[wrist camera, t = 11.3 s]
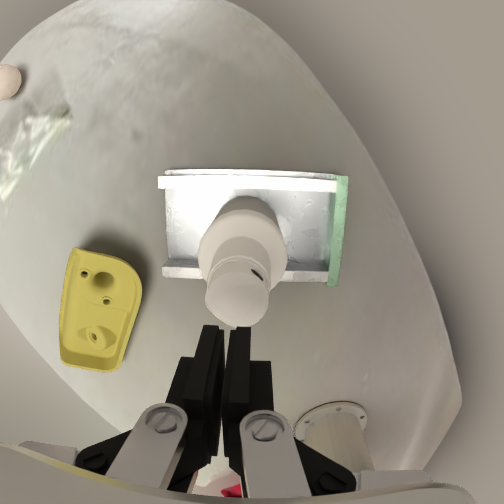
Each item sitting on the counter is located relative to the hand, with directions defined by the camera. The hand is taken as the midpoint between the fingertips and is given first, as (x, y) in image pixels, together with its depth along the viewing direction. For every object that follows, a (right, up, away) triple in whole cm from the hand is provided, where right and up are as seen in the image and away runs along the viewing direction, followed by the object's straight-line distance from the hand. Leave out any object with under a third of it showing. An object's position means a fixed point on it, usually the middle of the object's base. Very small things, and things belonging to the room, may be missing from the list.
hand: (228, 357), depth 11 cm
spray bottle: (0, +7, +22) cm, 23 cm away
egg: (-33, +28, +17) cm, 47 cm away
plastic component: (-19, -3, +27) cm, 33 cm away
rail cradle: (0, +7, +23) cm, 24 cm away
